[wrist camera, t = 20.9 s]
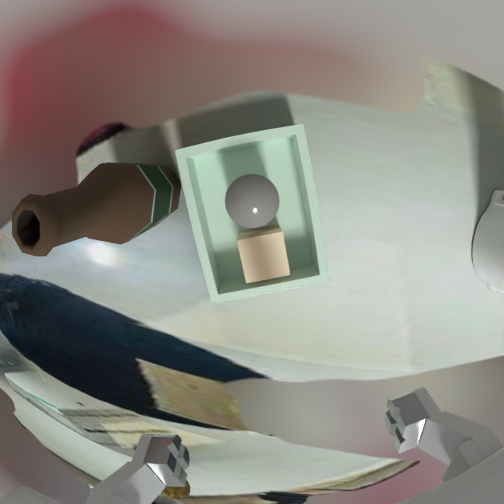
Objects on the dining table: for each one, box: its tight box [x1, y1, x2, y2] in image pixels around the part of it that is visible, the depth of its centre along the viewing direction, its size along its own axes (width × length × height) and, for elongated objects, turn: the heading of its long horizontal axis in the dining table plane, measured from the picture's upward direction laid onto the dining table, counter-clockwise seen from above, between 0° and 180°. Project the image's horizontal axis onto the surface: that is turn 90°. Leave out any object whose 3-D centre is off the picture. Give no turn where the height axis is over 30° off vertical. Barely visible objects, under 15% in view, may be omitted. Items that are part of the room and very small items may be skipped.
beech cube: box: [237, 224, 290, 283], centre depth 34 cm, size 5×5×5 cm
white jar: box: [225, 174, 280, 228], centre depth 31 cm, size 5×5×8 cm
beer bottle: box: [12, 162, 181, 256], centre depth 24 cm, size 8×8×24 cm
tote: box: [175, 124, 329, 304], centre depth 34 cm, size 14×18×5 cm
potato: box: [161, 480, 190, 499], centre depth 47 cm, size 8×13×8 cm, turn 29°
